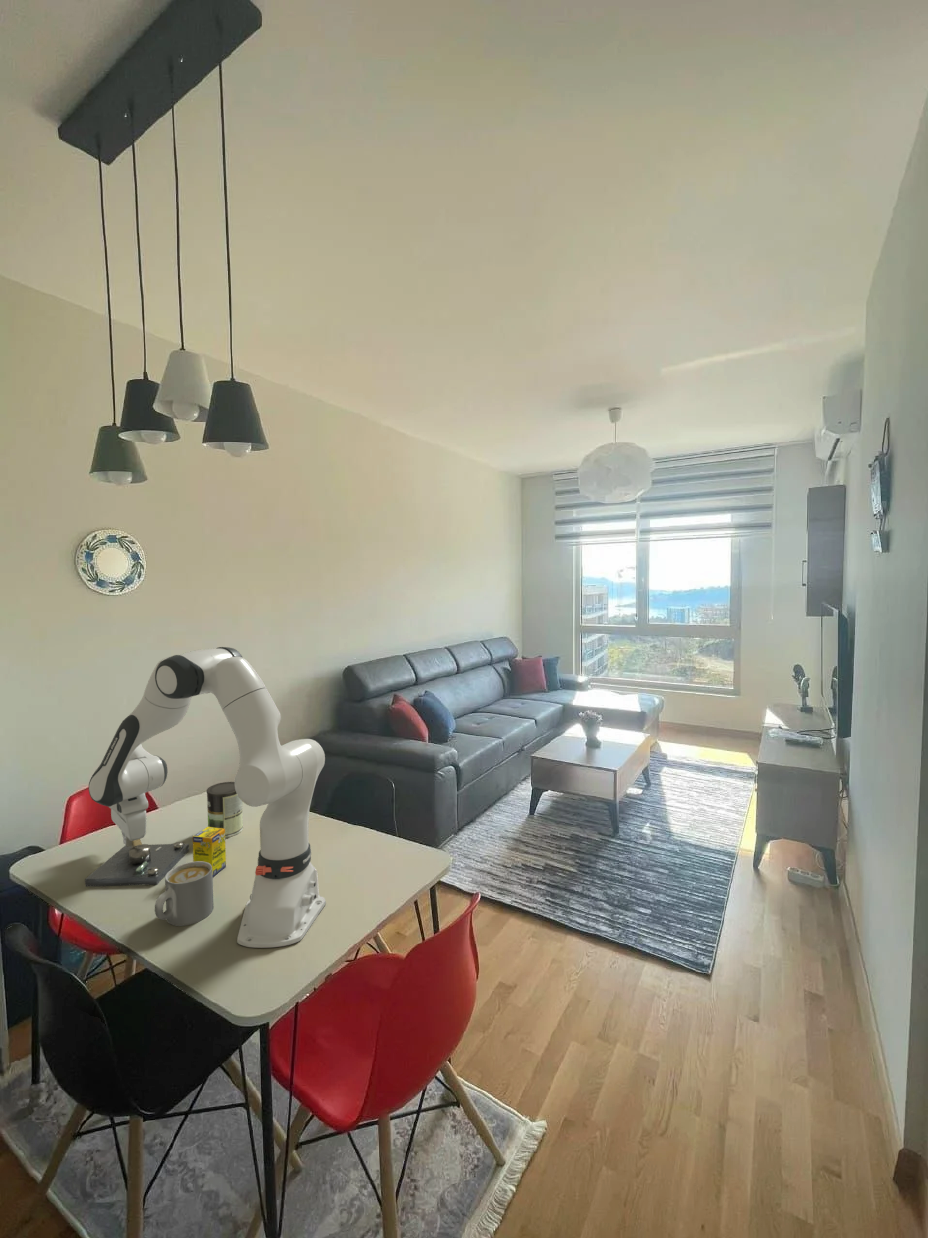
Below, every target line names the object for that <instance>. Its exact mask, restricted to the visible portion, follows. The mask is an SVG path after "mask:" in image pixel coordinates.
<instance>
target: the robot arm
mask: <svg viewBox="0 0 928 1238" xmlns="http://www.w3.org/2000/svg"><path fill="white" fill-rule="evenodd" d="M210 693H211V694H213V695H214V696H215V698H216V700H217V701H218V704H219V706H220V708H221V709H222V712H223V714H224V716H225V717H226V720H227V722H228V724H229V726H230V728H231V729H232V730H231V731H233V732H232V733H233V734H234V736H235V739H236V742H237V747H238V753H239V764H238V765H239V766H238V769H237V772H236V774H235V776H234V782H235V790H236V793H237V795H238V797H239V798H240V799H241V800H242V803H244V804H245V805H247V806H249V807H253V808H254V807H261V806H265V805H267V806H266V808H265V809H264V811H263V813H262V814H261V817H260V820H259V844H260V845H259V848H260V849H259V851H258V858H257V866H256V867H255V872H254V873H255V874H254V875H255V876H254V881H253V886H252V891H251V893H250V895H249V900H247V902H246V904H245V907H244V911H243V915H242V918H241V922H240V926H239V930H238V934H237V938H236V939H237V941H236V942H237V944H239V945H241V946H243V947H247V948H256V949H257V948H259V949H260V948H262V949H263V948H278V947H286V946H289V945H293V944H296V943H299V942H301V940H302V939H303V938H304V937H305V935H306V934H307V932H308V931H309V929H310V928H311V926H312V925H313V924H314V922H315V921H316V919H317V917H318V916H319V914H320V913H321V912H322V910H323V908H324V907H325V905H326V903H327V902H326V898H325V897H324V896H322V895H320V892H319V891H320V890H319V877H318V875H319V874H318V870H317V869H316V867H315V865H313V864H312V862H311V860H312V856H311V855H312V848H311V844H310V843H309V842H310V841H309V817H310V808H311V804H312V798H313V795H314V791H315V787H316V783H317V781H318V778H319V775H320V773H321V771H322V770H323V768H324V766H325V764H326V763H325V762H326V757H325V756H326V754H325V751H324V749H323V747H322V746H321V745H320V743H319V742H318V741H316V740H314V739H311V738H301V739H300V738H299V739H296V740H295V739H294V740H290V741H289V742H287V743H285V744H282V745H281V742H280V738H279V732H278V730H279V728H278V727H279V725H280V724H281V722H282V721H281V720H282V714H281V712H280V710H279V708H278V707H277V705H276V703H275V701H274V699H273V697H272V695H271V694H270V692H269V689H268V688H267V686H266V685H265V682H264V681H263V679H262V678H261V676H260V675H259V674H258V672H257V670H255V667H254V666H252V664H251V663H250V662H249V661H248V660H247V659H246V658H244V657H243V655H242V654H241V653H240V651H238V650H237V649H236V648H233V647H228V646H227V647H226V646H219V647H215V648H205V649H196V650H192V651H187V652H185V653H181V654H174V655H171V656H167V657H164V658H162V659H160V660H159V661H158V662H157V664H156V666H155V667H154V669H153V670H152V673H151V675H150V676H149V679H148V681H147V683H146V686H145V690H144V692H143V696H142V698H141V700H140V701H139V702H138V704H137V705H136V707H135V708H134V710H133V711H132V712H131V713H130V714H128V716H127V717H126V718H124V719H123V720H122V722H121V723H120V725H119V726H118V728H117V729H116V731H115V734H114V736H113V738H112V740H111V742H110V744H109V746H108V748H107V750H106V751H105V755H104V756H103V758H102V761H101V763H100V764H99V765H98V767H97V768H96V769H95V771H94V773H93V774H92V775H91V777H90V779H89V782H88V794H89V797H90V798H91V800H92V801H94V802H95V803H96V804H99V805H101V806H105V807H108V808H109V809H110V814H111V815H110V816H111V817H110V818H111V820H112V822H113V823H114V824H115V825H116V827H118V829H119V830H120V832H121V836H122V840H123V844H124V846H125V845H126V846H127V847H129V846H132V841H134V840H138V839H140V840H141V839H144V838H145V836H146V832H147V809H148V808H149V801H148V798H147V797H146V793H149V792H152V791H154V790H157V789H159V788H161V787H163V785H164V784H165V783H166V780H167V779H168V765H167V762H166V760H164V759H163V758H162V757H160V756H159V755H155V754H152V753H149V752H150V751H149V752H148V750H146V749H145V748H144V747H143V743H144V742H146V741H148V740H149V739H151V738H152V737H155V736H157V735H159V734H161V733H163V732H165V731H167V730H170V729H172V728H174V727H175V726H177V725H178V724H179V723H180V722H181V721H182V720H183V719H184V717H185V716H186V714H187V713H188V710H189V706H190V704H191V701H192V697H195V696H199V695H205V694H210Z"/></svg>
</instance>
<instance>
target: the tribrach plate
mask: <svg viewBox="0 0 928 1238" xmlns="http://www.w3.org/2000/svg"><path fill="white" fill-rule="evenodd" d="M149 845H150V851H151V858H150V859H149V860H147V861H145V862H143V863H139V864H131V863H130V861H129V850H130V849H131V848H132V847H131V846H129V847H127V846H126V845H125V844H124V846H123V847H122V848H120V849H118V851H117V852H116V853H114V854H113V855H112V856H111V857H109V858H108V859H107V860H106V861H105V862H103V864H101V865H100V866H99V867H98V868H97V869H95V870H94V871H93V872H91V874H89V875H88V876H87V877H86V878H85V879H84V881H85V884H84V885H85V887H87V888H88V887H110V886H111V887H115V886H116V887H117V886H119V887H120V886H122V887H123V886H148V885H149V886H150V885H151V886H152V885H153V886H155V885H158V884H159V883H160V882H162V880H164V879H165V876H166V874H167V873H168V872H169V871H170V870H171V869H173V868H175V867H176V866H177V864H178V863H179V862H180V861H181V860H182V859H183V857H185V855H186V854H187V853H188V852H190V843H184V842H183V841H177V842H175V843H166V844H165V843H164V844H162V843H160V844H159V843H158V844H156V843H155V844H149Z"/></svg>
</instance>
